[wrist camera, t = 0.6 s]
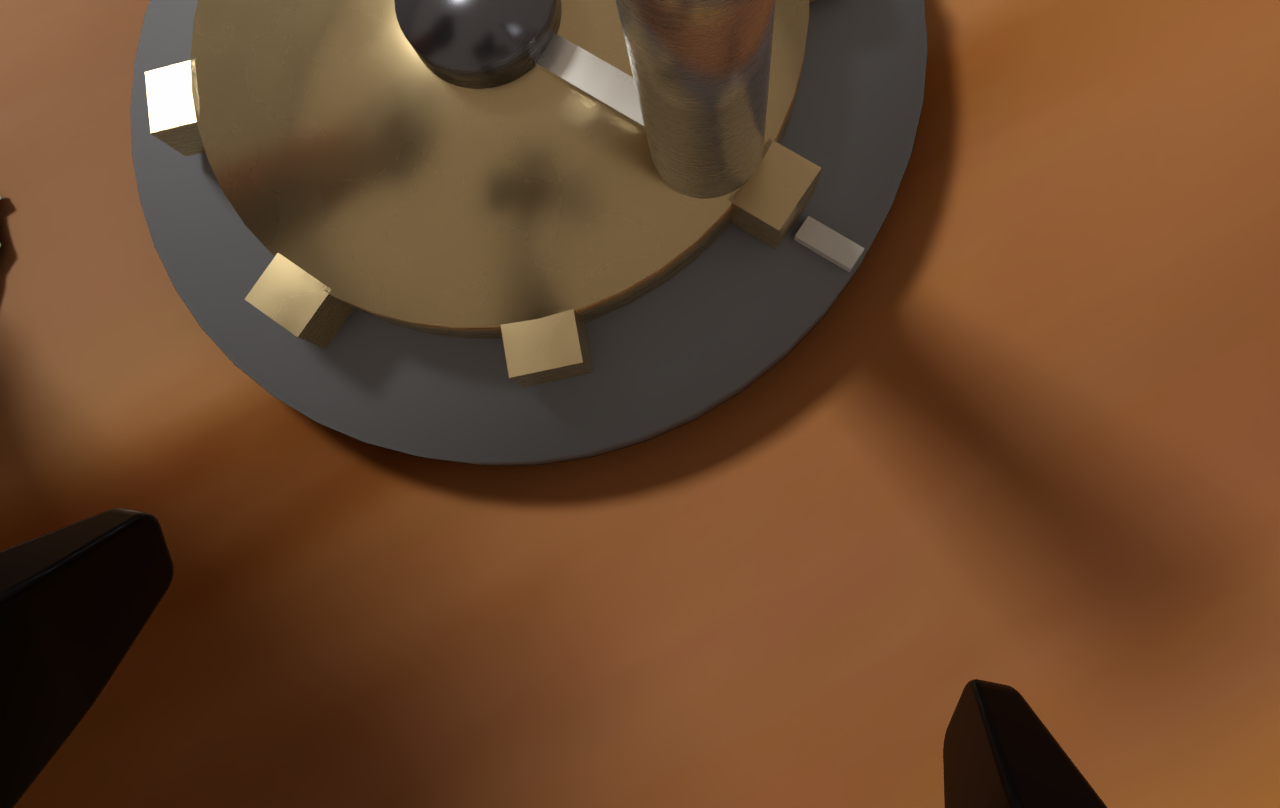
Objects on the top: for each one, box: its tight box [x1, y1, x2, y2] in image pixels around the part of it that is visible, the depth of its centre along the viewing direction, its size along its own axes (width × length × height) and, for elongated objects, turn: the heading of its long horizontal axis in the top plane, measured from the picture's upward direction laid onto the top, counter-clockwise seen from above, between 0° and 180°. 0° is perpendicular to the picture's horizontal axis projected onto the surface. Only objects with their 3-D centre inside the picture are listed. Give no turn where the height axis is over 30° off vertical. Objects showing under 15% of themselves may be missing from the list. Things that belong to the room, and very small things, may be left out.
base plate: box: [131, 0, 928, 466], centre depth 24 cm, size 25×25×2 cm
